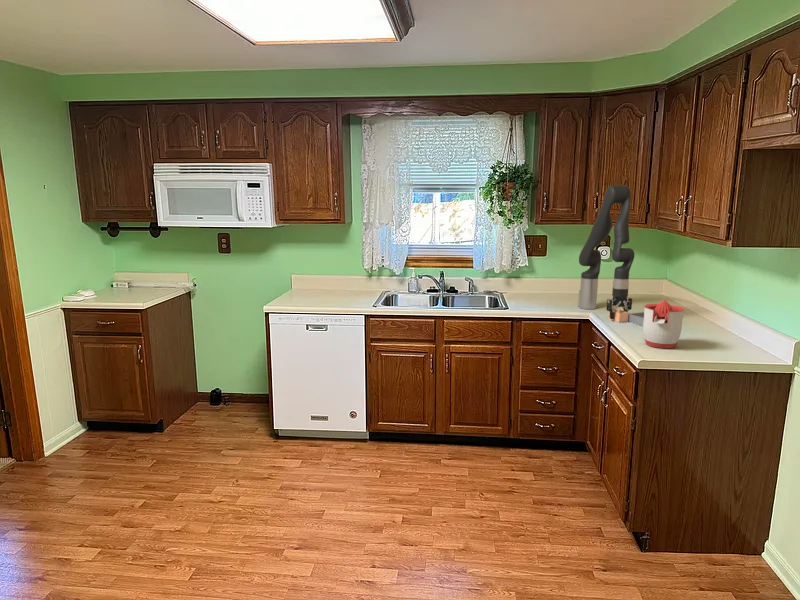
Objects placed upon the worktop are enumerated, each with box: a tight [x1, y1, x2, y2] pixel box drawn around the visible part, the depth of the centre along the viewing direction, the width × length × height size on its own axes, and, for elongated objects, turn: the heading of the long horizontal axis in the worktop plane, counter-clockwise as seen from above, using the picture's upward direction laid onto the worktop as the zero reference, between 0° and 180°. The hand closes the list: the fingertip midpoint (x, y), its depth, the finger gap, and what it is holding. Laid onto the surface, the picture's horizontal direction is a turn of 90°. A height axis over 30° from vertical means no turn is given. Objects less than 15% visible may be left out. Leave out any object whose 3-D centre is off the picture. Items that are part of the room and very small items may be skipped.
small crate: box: [607, 308, 630, 323], centre depth 288 cm, size 8×6×5 cm
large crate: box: [628, 311, 644, 327], centre depth 284 cm, size 12×14×4 cm
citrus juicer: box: [642, 299, 685, 350], centre depth 241 cm, size 16×17×20 cm
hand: (618, 318), depth 288 cm, fingers open, 7 cm apart
